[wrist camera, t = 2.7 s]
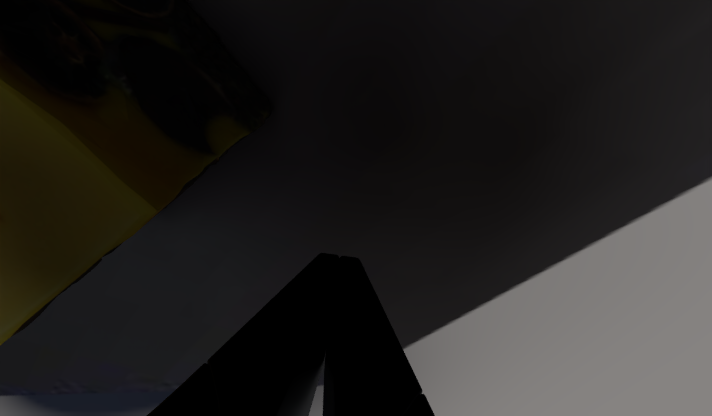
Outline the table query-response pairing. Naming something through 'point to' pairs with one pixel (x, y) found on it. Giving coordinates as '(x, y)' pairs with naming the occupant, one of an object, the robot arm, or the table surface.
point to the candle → (102, 132)
